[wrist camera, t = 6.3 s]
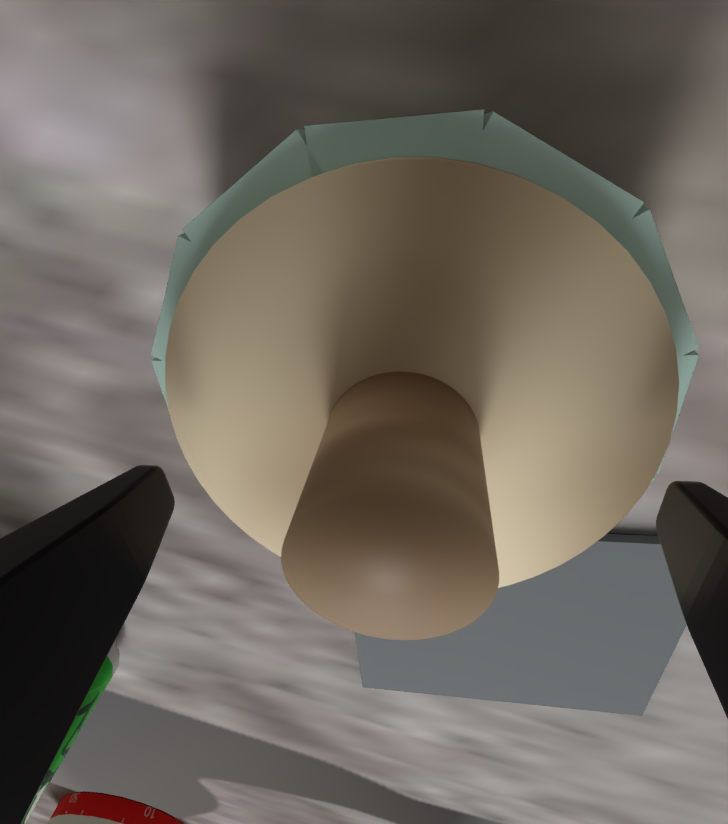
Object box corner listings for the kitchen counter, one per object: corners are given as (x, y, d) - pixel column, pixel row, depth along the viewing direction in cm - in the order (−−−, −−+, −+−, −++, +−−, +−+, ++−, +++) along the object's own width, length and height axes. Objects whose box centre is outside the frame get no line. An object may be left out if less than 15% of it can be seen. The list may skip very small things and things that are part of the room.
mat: (718, 538, 17) (724, 547, 16) (638, 707, 23) (641, 715, 22) (342, 521, 19) (340, 528, 18) (363, 679, 25) (362, 687, 25)
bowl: (660, 98, 10) (792, 81, 6) (575, 485, 16) (617, 595, 12) (190, 140, 12) (76, 147, 8) (269, 476, 18) (224, 569, 14)
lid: (741, 128, 7) (1087, 129, 3) (603, 583, 12) (673, 774, 9) (114, 179, 8) (-128, 218, 5) (238, 561, 14) (168, 714, 10)
